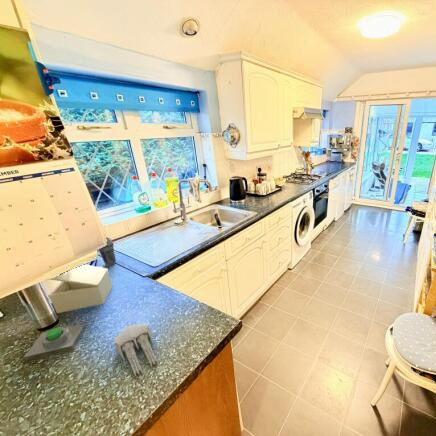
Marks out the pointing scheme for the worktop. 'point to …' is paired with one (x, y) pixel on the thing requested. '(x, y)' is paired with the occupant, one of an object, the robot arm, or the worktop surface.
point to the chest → (80, 295)
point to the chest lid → (83, 275)
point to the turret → (135, 345)
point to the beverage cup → (108, 253)
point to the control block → (56, 343)
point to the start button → (53, 333)
